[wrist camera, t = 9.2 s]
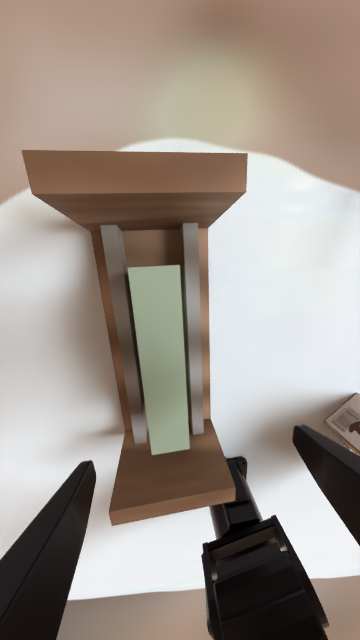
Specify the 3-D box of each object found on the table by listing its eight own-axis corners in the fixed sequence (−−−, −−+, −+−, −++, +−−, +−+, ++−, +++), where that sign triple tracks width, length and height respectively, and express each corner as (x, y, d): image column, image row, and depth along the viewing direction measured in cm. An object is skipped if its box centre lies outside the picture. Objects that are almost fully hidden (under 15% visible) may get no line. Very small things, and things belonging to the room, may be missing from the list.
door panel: (180, 397, 20) (190, 448, 14) (153, 401, 19) (151, 455, 13) (172, 268, 16) (180, 264, 10) (138, 270, 16) (126, 267, 10)
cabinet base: (208, 422, 22) (235, 500, 14) (128, 434, 21) (111, 525, 13) (204, 212, 16) (247, 153, 8) (91, 214, 15) (21, 150, 7)
